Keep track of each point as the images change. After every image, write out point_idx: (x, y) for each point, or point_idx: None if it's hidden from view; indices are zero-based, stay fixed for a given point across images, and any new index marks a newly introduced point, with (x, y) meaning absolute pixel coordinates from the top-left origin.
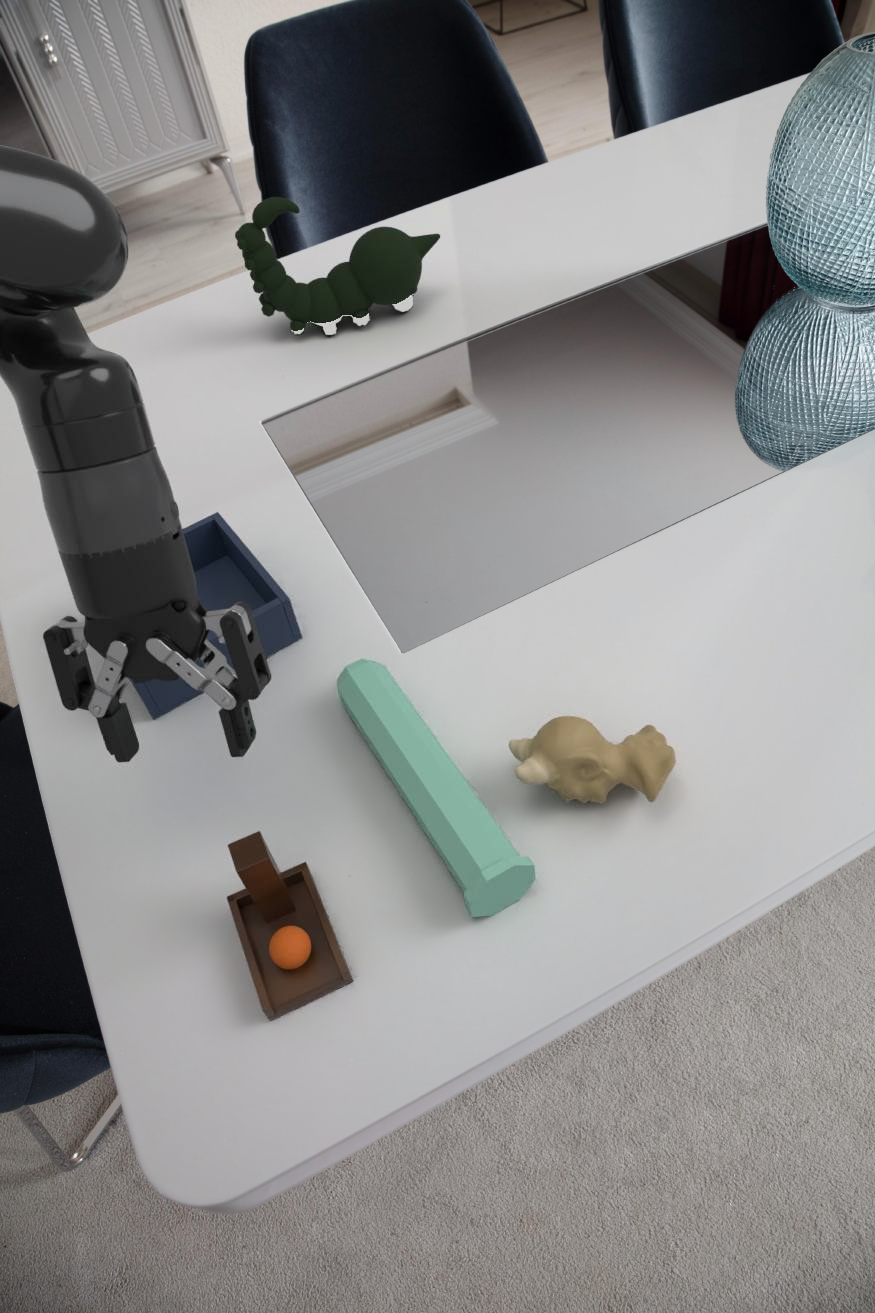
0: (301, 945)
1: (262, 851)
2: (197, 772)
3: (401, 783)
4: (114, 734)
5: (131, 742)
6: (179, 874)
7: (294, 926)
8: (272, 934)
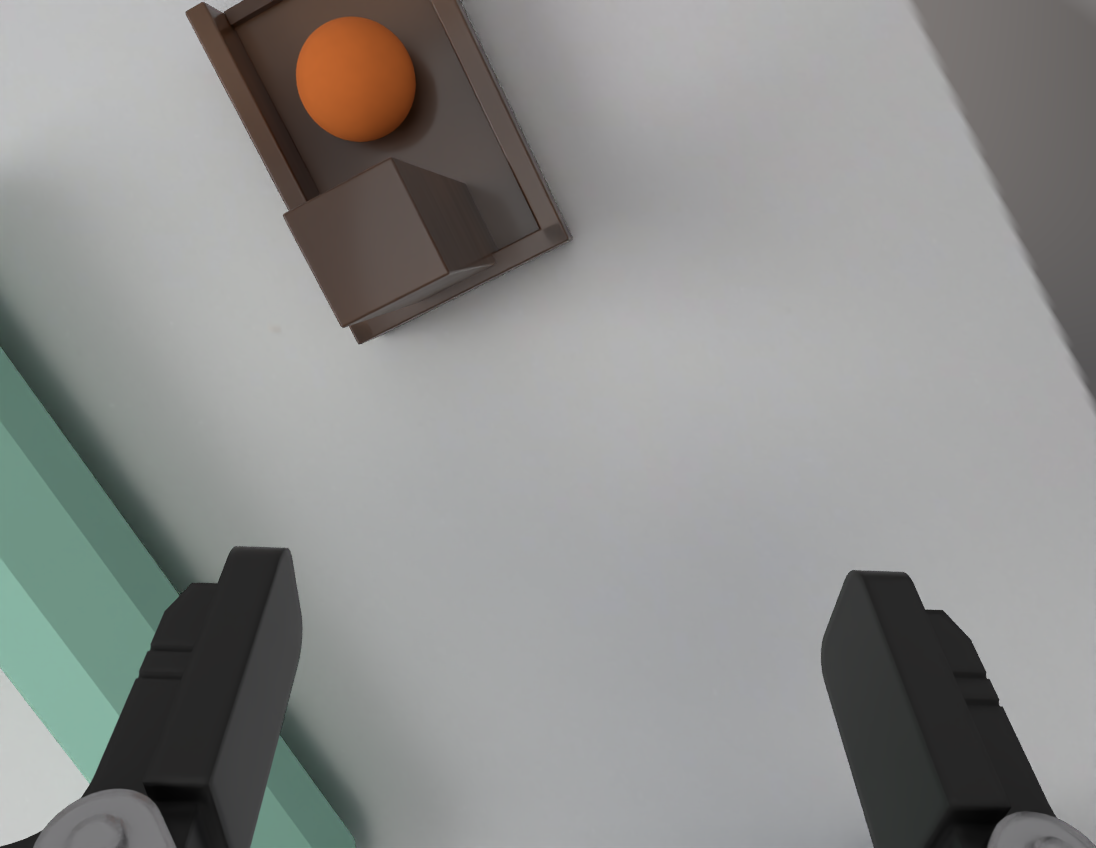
0: (301, 63)
1: (311, 240)
2: (749, 655)
3: (89, 559)
4: (922, 702)
5: (848, 674)
6: (747, 345)
7: (337, 127)
8: (443, 151)
